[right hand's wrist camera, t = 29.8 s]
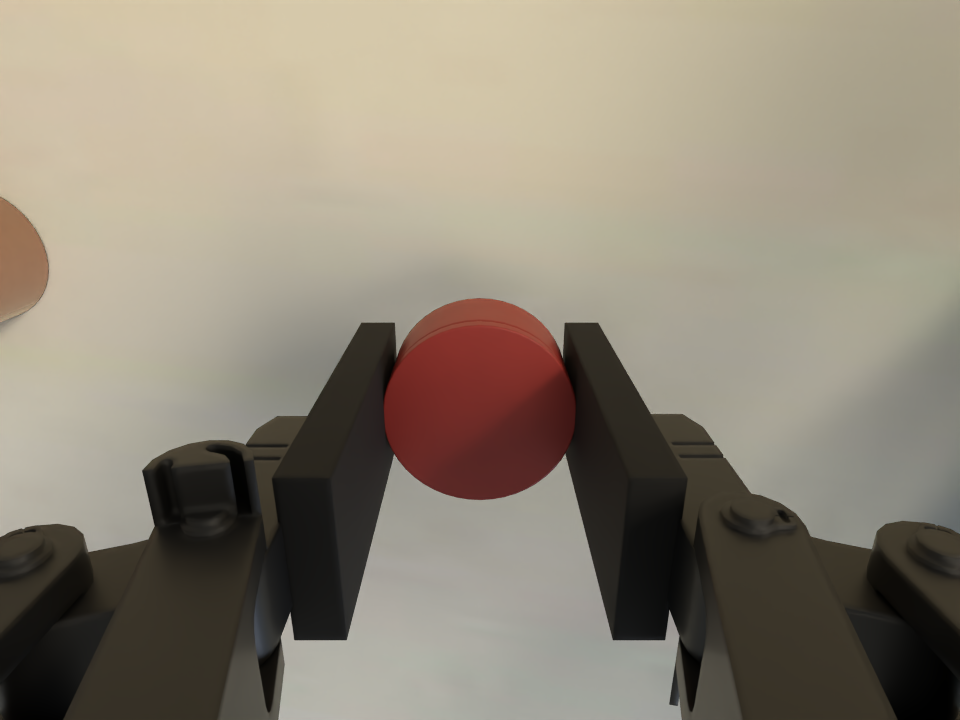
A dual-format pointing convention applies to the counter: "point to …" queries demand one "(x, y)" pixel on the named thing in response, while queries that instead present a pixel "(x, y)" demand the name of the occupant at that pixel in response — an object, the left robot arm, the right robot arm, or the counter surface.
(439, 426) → the cap
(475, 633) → the counter surface
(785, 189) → the counter surface
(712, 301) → the counter surface
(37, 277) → the bottle
